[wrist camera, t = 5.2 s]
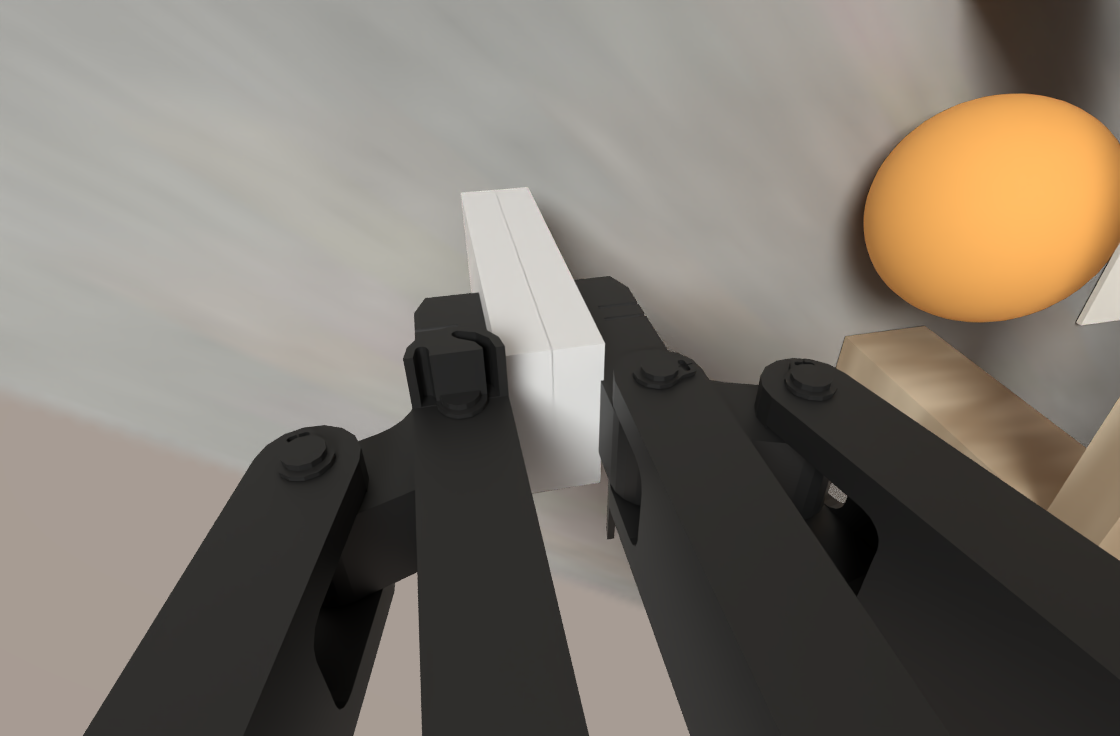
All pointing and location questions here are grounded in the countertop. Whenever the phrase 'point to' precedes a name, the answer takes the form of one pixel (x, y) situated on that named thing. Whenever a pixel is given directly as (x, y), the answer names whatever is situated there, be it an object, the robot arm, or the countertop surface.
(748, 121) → the countertop surface
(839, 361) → the bridge
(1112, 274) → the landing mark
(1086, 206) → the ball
